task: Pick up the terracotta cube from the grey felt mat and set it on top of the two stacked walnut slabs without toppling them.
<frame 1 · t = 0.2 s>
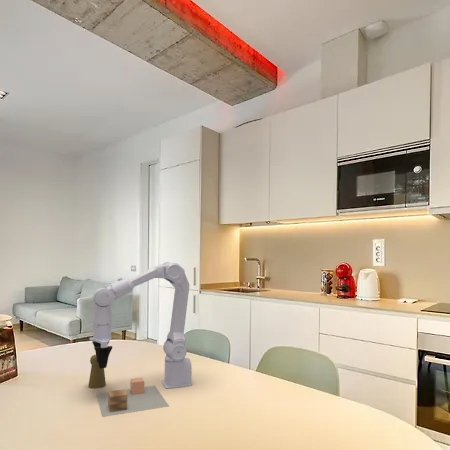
hand: (101, 364, 129), 10 cm above the table, tool pointing down, fingers open, 7 cm apart
tower top: (117, 400, 118), point 2 cm above the table, touching tower bottom
olive pawn: (97, 386, 137), on the table
mat: (131, 400, 124), on the table
tower bottom: (117, 407, 118), resting on mat, touching tower top
cube: (137, 392, 131), resting on mat
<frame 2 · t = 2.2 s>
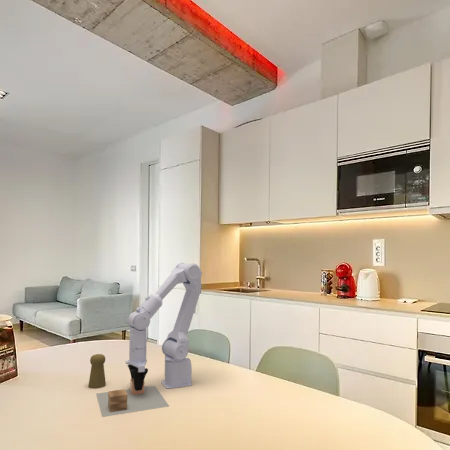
hand: (137, 387, 131), 2 cm above the table, tool pointing down, fingers closed on cube, 4 cm apart
cube: (137, 392, 131), resting on mat, touching gripper
everything else where it was.
when the fingers open (7 cm above the table, at t = 4.7 s): cube drops 1 cm, resting on tower top.
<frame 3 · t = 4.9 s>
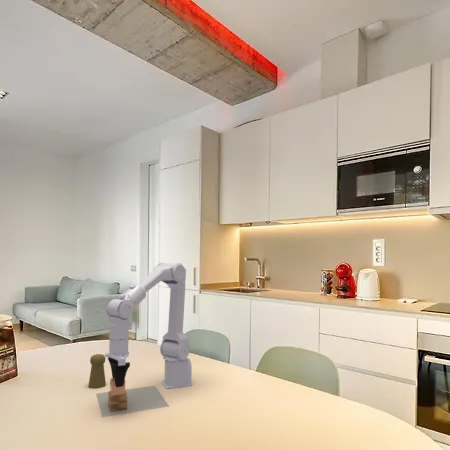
hand: (118, 383, 118), 8 cm above the table, tool pointing down, fingers open, 5 cm apart
tower top: (117, 400, 118), point 2 cm above the table, touching cube, tower bottom
cube: (117, 393, 118), point 5 cm above the table, touching tower top
everything else where it was.
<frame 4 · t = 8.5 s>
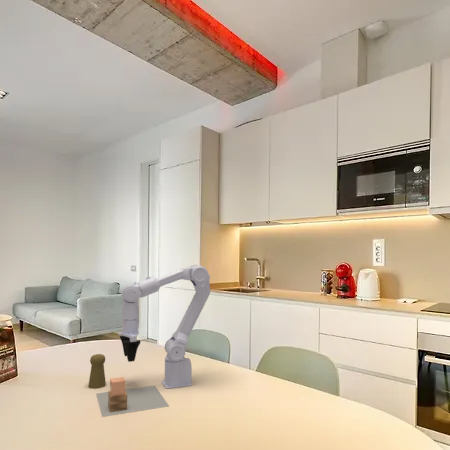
hand: (129, 358, 135), 10 cm above the table, tool pointing down, fingers open, 7 cm apart
nothing on the table moved.
at the end: cube 0.1 cm off-centre on the tower bottom, point 4.4 cm above the tower bottom's base; tower top tilted 0°; the gripper is holding nothing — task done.
